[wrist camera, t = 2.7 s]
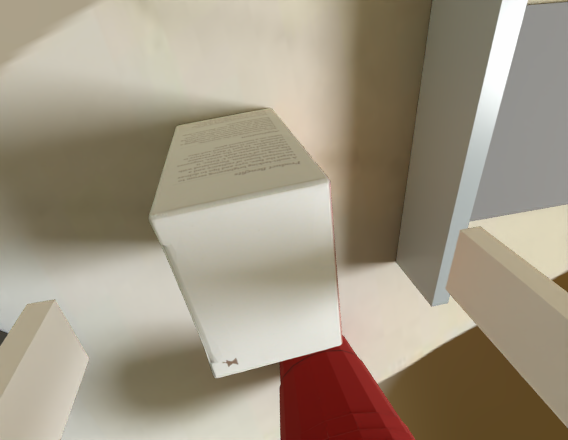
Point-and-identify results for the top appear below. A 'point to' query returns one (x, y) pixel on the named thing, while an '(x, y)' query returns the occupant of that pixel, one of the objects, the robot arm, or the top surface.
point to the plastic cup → (335, 399)
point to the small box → (249, 240)
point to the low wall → (453, 131)
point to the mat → (530, 122)
